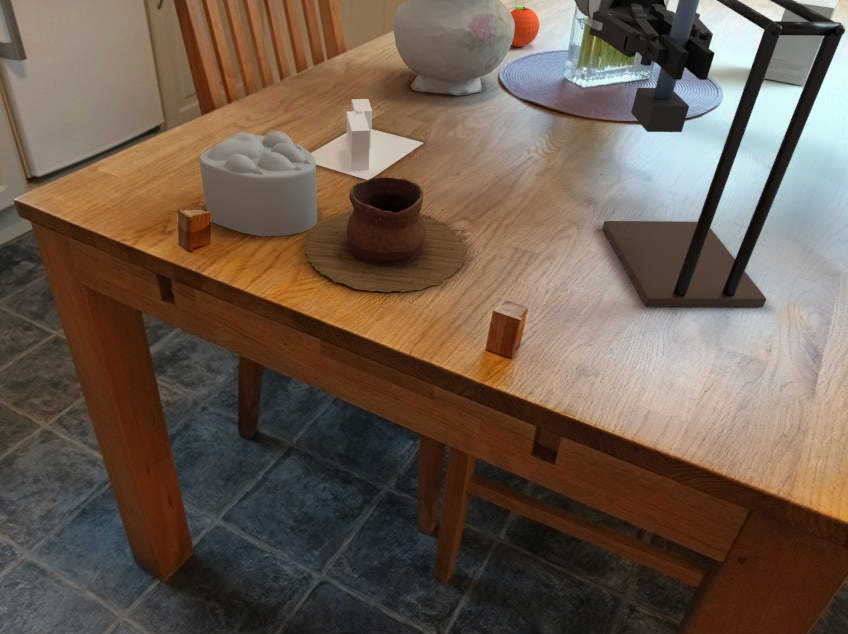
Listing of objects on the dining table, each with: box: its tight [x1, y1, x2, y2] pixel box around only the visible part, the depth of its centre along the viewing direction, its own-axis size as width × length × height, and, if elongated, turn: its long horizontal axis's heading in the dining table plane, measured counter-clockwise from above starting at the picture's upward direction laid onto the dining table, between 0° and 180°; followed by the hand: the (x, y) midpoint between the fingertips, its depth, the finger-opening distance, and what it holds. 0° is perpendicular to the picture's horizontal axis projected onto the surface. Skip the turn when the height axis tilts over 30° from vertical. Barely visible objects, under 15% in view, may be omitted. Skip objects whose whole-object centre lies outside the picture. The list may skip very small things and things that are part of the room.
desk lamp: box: [602, 0, 846, 308], centre depth 70 cm, size 17×12×26 cm
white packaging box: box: [764, 0, 839, 86], centre depth 125 cm, size 7×7×13 cm
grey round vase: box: [393, 0, 515, 96], centre depth 116 cm, size 22×20×25 cm
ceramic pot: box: [304, 176, 467, 293], centre depth 77 cm, size 18×18×7 cm
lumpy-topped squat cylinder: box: [199, 130, 318, 237], centre depth 83 cm, size 10×13×9 cm
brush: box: [631, 0, 700, 133], centre depth 78 cm, size 6×10×18 cm, turn 91°
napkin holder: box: [310, 98, 424, 181], centre depth 98 cm, size 15×11×6 cm
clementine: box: [508, 6, 540, 48], centre depth 139 cm, size 8×7×7 cm
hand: (694, 66), depth 74 cm, fingers closed on brush, 2 cm apart
